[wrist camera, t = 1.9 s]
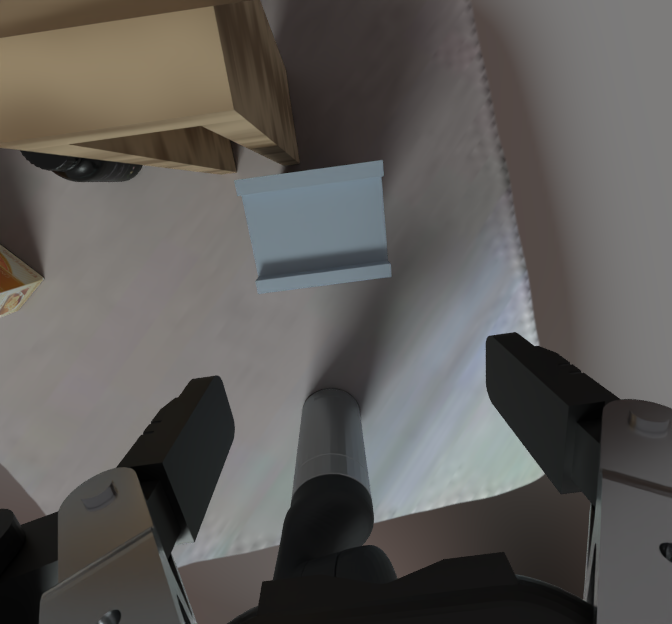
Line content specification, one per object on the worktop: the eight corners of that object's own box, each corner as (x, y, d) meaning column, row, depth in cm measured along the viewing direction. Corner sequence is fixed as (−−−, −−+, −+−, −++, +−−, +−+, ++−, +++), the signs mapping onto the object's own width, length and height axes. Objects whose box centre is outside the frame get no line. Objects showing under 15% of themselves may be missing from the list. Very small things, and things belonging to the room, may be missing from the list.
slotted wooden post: (299, 163, 44) (234, 109, 13) (221, 174, 44) (-18, 145, 14) (285, 70, 40) (156, -281, 10) (200, 82, 40) (-175, -224, 10)
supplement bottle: (77, 154, 43) (-14, 142, 31) (107, 108, 41) (23, 78, 30) (126, 194, 44) (57, 196, 33) (156, 151, 43) (94, 138, 32)
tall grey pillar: (363, 236, 47) (391, 276, 26) (289, 246, 47) (258, 293, 26) (357, 173, 44) (382, 159, 23) (279, 183, 44) (234, 180, 23)
